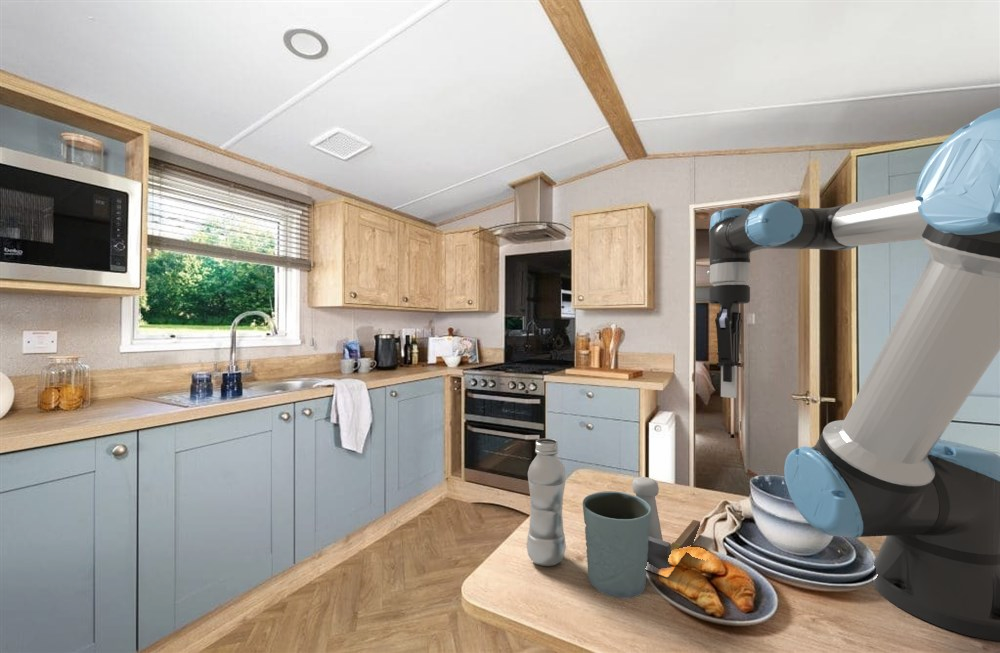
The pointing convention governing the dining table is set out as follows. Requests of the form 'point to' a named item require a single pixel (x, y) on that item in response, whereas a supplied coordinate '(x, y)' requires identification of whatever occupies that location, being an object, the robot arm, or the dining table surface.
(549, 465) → the plastic bottle
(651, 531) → the salt shaker
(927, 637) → the dining table surface
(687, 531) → the dark grey angled piece
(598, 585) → the green cup
